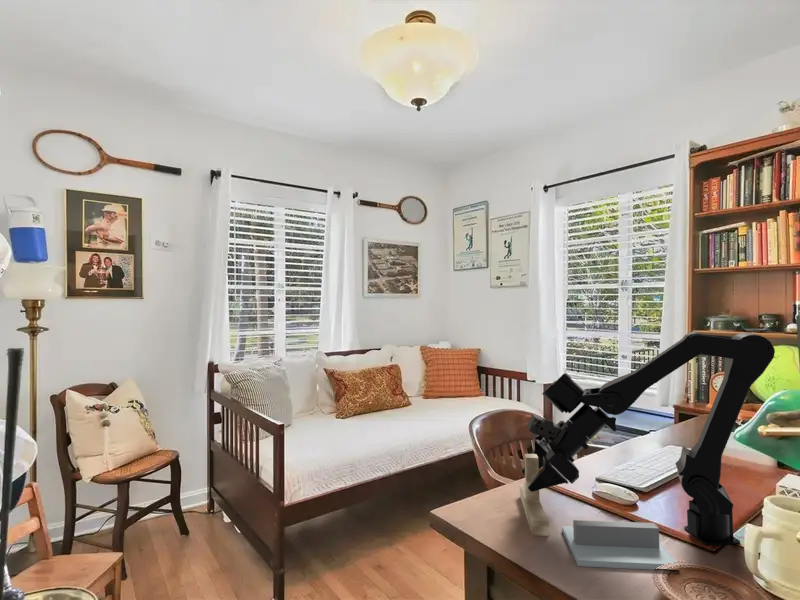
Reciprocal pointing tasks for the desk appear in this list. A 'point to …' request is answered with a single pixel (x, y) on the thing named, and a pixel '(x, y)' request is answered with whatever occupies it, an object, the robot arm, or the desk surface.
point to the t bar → (533, 498)
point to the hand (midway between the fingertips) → (526, 481)
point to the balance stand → (616, 544)
